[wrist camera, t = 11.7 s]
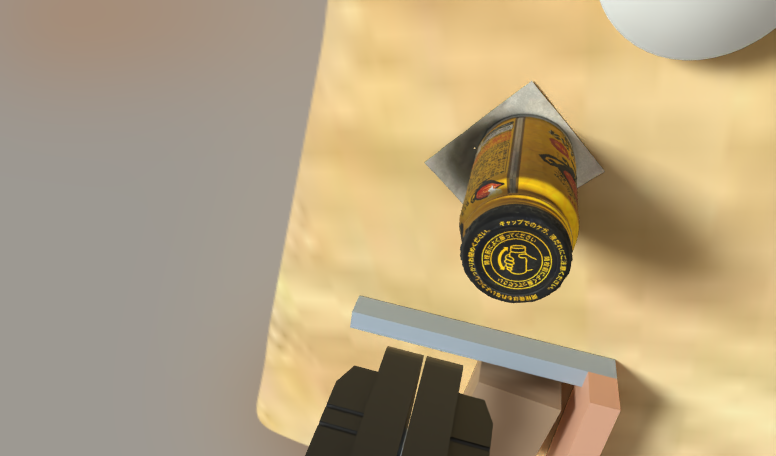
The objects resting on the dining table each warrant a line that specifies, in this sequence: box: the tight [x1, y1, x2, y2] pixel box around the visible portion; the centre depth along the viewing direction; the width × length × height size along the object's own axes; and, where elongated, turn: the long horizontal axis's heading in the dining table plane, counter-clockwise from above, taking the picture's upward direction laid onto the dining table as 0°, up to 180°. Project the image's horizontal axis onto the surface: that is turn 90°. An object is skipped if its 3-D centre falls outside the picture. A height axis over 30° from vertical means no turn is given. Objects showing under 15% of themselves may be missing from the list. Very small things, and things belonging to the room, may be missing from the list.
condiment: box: [424, 81, 605, 303], centre depth 36 cm, size 7×8×12 cm
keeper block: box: [464, 360, 561, 456], centre depth 49 cm, size 6×7×4 cm
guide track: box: [350, 296, 621, 456], centre depth 49 cm, size 19×14×5 cm
